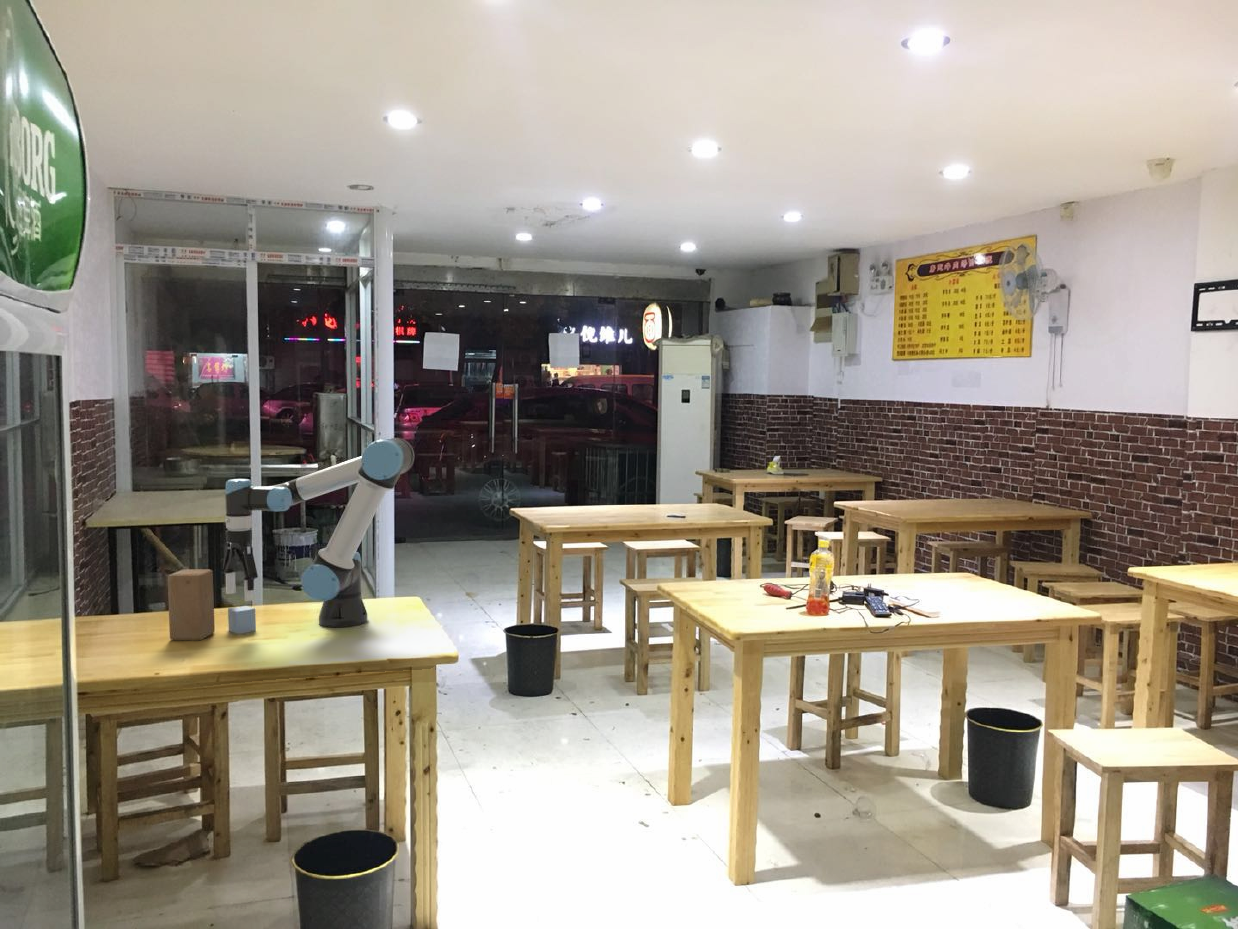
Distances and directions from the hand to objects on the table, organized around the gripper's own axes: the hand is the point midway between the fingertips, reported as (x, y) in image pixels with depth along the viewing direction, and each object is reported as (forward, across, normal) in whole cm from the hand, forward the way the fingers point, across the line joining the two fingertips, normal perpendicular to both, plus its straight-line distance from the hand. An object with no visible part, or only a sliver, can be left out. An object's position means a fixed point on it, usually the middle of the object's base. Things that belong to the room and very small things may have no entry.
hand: (239, 597), depth 302 cm
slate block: (+11, 0, 0) cm, 11 cm away
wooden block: (+11, -3, -14) cm, 18 cm away
